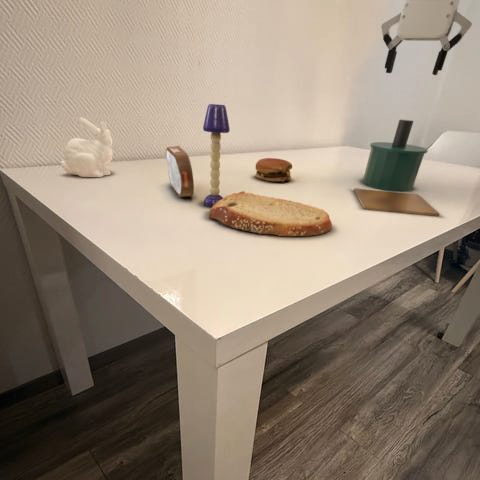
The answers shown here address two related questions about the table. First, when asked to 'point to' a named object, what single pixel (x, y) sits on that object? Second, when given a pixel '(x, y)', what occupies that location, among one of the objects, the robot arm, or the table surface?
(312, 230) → the bread slice
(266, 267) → the table surface
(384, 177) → the enamel tin
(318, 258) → the table surface
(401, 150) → the tin lid
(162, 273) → the table surface
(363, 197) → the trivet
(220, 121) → the toy lamp
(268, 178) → the burger
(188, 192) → the tin
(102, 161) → the rabbit
